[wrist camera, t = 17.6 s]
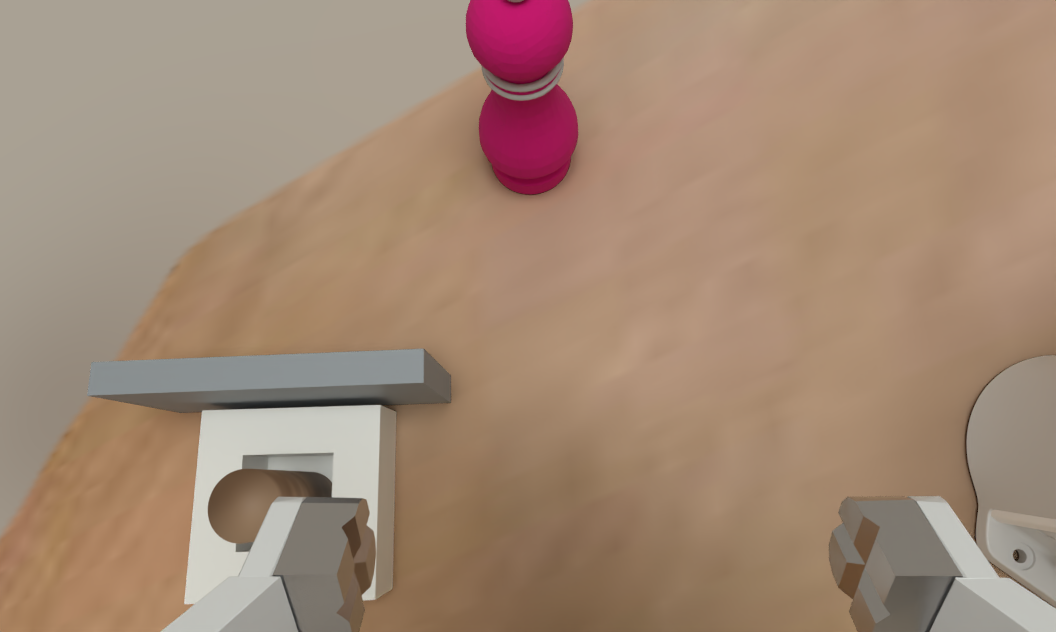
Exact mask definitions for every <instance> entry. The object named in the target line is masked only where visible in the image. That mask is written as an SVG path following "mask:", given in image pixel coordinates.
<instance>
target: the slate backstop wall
mask: <svg viewBox="0 0 1056 632" xmlns="http://www.w3.org/2000/svg"><path fill="white" fill-rule="evenodd" d="M87 396H92V397H98V398H103V399H108V400H114V401H119V402H125V403H130V404H136V405H141V406H146V407H152V408H157V409H163V410H168V411H174V412H179V413H188V412H202V411H203V410H234V409H266V408H298V407H329V406H361V405H403V404H430V403H451V375H450V374H449V373H448V372H447V371H446V370H445V369H444V368H443V367H442V366H441V365H440V364H439V363H438V362H437V361H436V360H435V359H434V358H433V357H432V356H431V355H430V354H429V353H428V352H427V351H426V350H425V349H407V350H382V351H357V352H332V353H308V354H283V355H258V356H233V357H208V358H183V359H159V360H134V361H109V362H92V363H91V371H90V379H89V387H88V394H87Z"/></svg>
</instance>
